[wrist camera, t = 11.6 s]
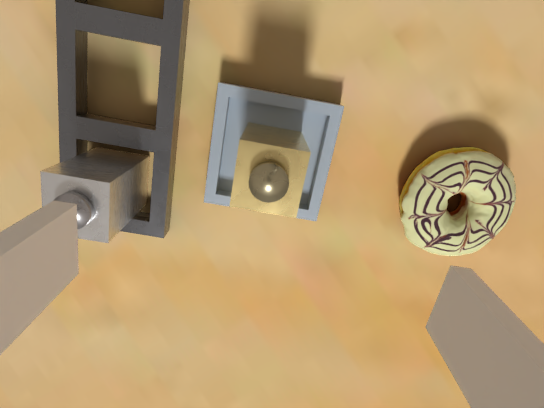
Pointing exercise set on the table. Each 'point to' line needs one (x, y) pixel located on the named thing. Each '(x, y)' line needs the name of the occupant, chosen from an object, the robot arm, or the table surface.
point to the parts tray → (277, 113)
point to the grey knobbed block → (99, 189)
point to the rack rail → (81, 126)
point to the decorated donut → (472, 209)
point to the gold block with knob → (270, 170)
